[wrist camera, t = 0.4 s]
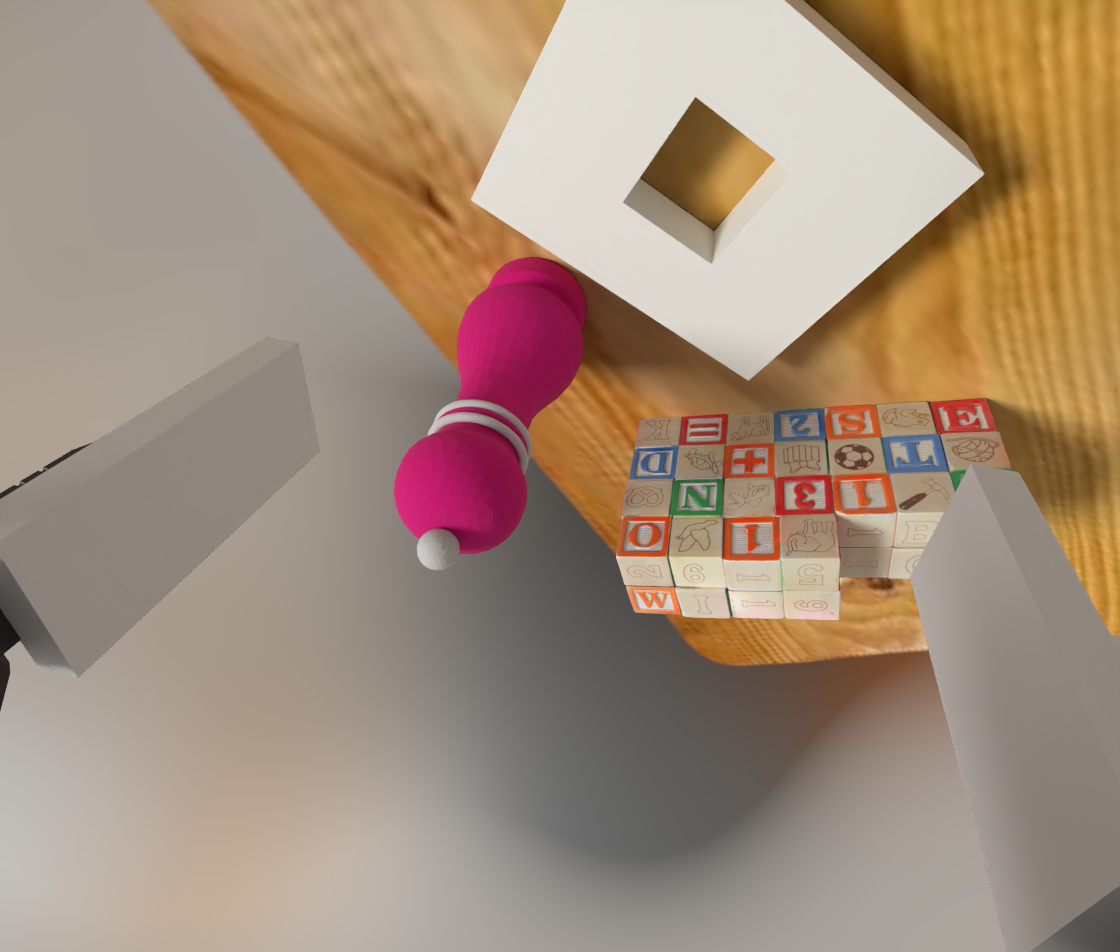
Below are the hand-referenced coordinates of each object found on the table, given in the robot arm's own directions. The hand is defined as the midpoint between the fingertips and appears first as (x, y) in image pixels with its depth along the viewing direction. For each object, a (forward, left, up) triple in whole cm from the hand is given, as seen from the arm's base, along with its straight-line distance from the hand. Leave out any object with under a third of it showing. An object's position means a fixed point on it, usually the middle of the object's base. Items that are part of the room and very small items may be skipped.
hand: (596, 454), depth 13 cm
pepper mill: (+15, 0, -25) cm, 29 cm away
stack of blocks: (+13, +20, -25) cm, 35 cm away
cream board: (+2, +3, -25) cm, 25 cm away
